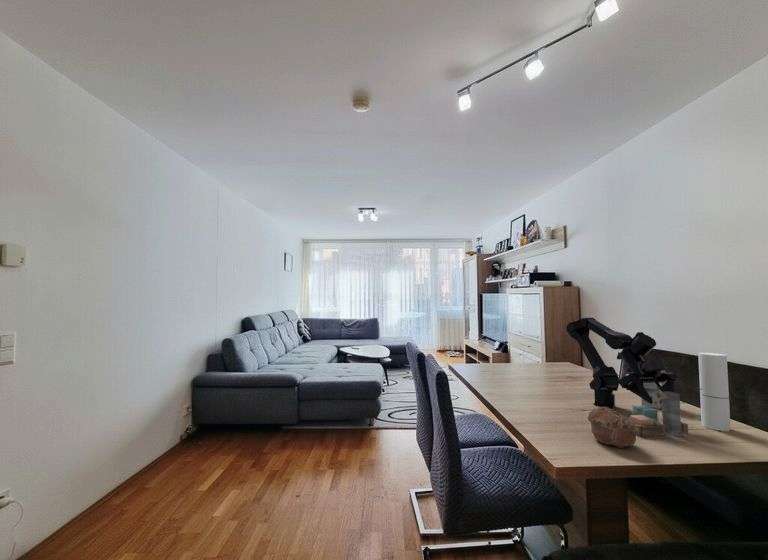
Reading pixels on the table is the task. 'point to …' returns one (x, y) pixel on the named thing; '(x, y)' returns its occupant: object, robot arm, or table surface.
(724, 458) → the table surface
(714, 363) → the cylindrical container
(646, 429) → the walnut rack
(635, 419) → the block
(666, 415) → the grey teal angled piece
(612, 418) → the decorative rock
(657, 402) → the coffee box
